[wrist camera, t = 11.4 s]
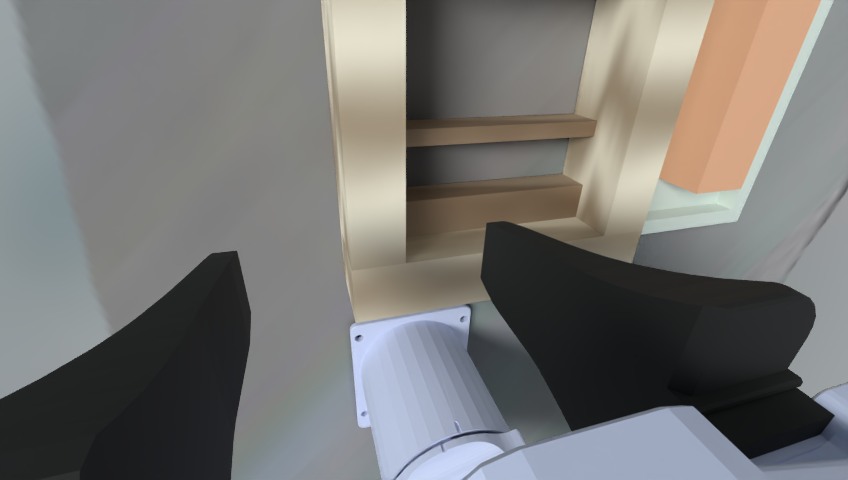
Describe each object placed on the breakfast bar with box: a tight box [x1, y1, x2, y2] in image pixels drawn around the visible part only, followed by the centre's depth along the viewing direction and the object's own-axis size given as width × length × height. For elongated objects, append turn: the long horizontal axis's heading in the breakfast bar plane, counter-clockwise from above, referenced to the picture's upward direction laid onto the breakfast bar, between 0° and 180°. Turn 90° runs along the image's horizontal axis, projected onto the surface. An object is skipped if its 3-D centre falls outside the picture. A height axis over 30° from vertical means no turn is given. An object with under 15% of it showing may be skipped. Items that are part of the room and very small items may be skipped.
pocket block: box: [321, 0, 715, 323], centre depth 19 cm, size 18×16×4 cm
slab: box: [659, 0, 821, 194], centre depth 23 cm, size 10×4×3 cm, turn 178°
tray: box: [641, 0, 834, 235], centre depth 24 cm, size 16×11×2 cm
